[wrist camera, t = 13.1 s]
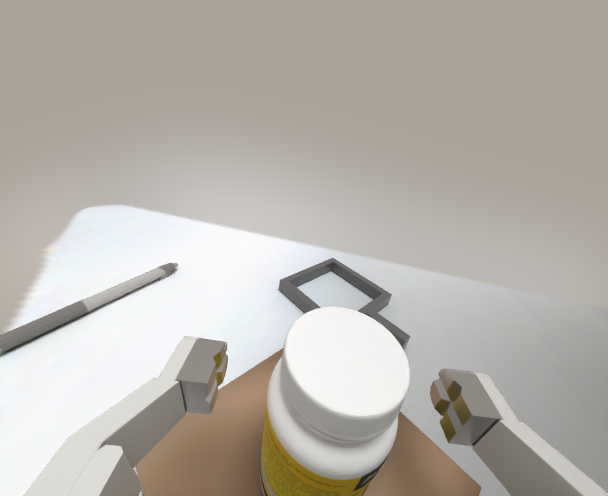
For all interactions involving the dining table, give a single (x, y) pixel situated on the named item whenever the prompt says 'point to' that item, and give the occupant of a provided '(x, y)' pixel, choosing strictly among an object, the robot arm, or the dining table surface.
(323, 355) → the supplement bottle
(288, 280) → the grey frame with handle
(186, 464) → the pad
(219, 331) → the dining table surface
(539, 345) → the dining table surface
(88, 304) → the pen
